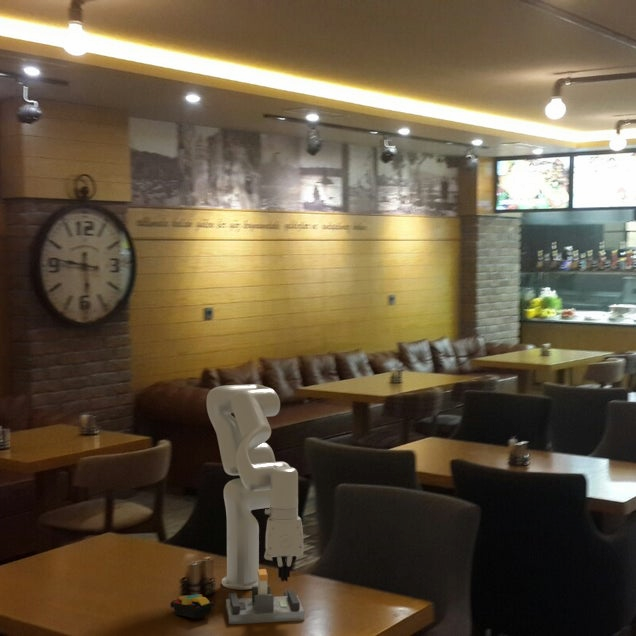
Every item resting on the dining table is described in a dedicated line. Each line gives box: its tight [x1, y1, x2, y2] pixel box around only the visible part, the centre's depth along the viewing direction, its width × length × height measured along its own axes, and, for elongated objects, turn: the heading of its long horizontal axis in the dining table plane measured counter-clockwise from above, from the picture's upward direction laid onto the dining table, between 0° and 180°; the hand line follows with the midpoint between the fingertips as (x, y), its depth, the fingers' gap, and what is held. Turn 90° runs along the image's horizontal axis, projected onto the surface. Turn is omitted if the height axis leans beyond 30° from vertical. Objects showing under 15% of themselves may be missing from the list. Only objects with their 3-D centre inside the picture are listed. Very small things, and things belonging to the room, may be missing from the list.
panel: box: [225, 584, 305, 625], centre depth 260 cm, size 13×20×6 cm, turn 100°
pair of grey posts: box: [227, 589, 300, 613], centre depth 264 cm, size 18×18×4 cm
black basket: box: [169, 593, 215, 620], centre depth 258 cm, size 6×13×6 cm, turn 47°
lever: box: [258, 568, 269, 595], centre depth 260 cm, size 6×2×9 cm, turn 10°
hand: (283, 579), depth 261 cm, fingers closed
